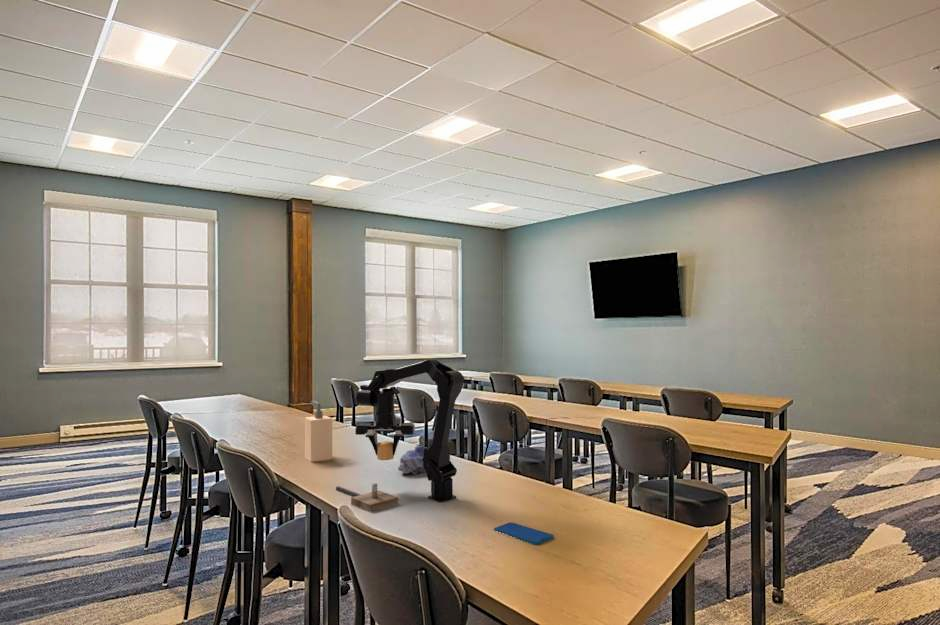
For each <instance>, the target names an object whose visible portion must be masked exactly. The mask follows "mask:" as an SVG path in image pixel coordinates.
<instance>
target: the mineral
mask: <svg viewBox="0 0 940 625" xmlns="http://www.w3.org/2000/svg"><path fill="white" fill-rule="evenodd" d="M425 448H426V446H424V445H417V446H415V447H414V449H413V450H412V449H409V450H406V452H405V453H404V454H402V456H401V457H400V458H399V459H400V460H399V462H400V464H399V465H398V466H397V470H398V471H399V472H402V473H403V474H410V473H411V474H413V473H416V474H418V473H421V472H422V473H424V472H425V473H426V471H425V469H424V468H423V461H422V459H423V456H424V449H425Z"/></svg>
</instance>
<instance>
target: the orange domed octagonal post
mask: <svg viewBox="0 0 940 625" xmlns="http://www.w3.org/2000/svg"><path fill="white" fill-rule="evenodd" d="M376 456H377V457H376V459H377V460H380V461H390V460H393V459H394V457H395V455H394V456H393V441H387V440H385V441H379V442H378V445H377V455H376Z"/></svg>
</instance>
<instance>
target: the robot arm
mask: <svg viewBox="0 0 940 625" xmlns="http://www.w3.org/2000/svg"><path fill="white" fill-rule="evenodd" d="M424 374H427V375H428V376H429V377H430V379H431V380H432V381H433V382H434V383H435V384H436V391H437V395H438V398H439V401H438V406H437V413H436V417H435V418H436V419H435V424H434V430H433V436H432V442H431V445H430V446H427V447H425V449H424V456H423V459H422V461H423V468H424V469H425V473H426V477H427V479H428V481H430V483H431V484H430V488H431V489H430V491H431V492H430V494H431V495H428V496H427V498H428V499H430V500H433V501H437V502H439V503H443V502H446V501H450V500H453V499H457V495H453V493H454V492H453V491H454V490H453V488H454V487H453V477H455V476H456V474H457V472H458V469H457V468H456V466H455V465H454V464H453V463H452V461H451V452H450V449H449V446H448V445H449V444H448V443H449V438H450V433H451V427H452V422H453V421H452V420H453V416H454V415H453V414H454V410H455V405H456V400H457V398H458V397H459V396H460V393H461V392H462V390H463V386H464V382H465V376H464V375H463V374H462V372H460V371H458V370H455V369H453V368H452V367H450V366H448V365H446V364H444V363H441V361H439V360H437V359H435V358H431V359H425V360H424V361H419V362H416V363H414V364H413V363H412V364H409V365H405V366H401V367H399V368H398V367H396V368H383V369H377V370H376V371H375V372H374V375H373V378H372V379H371V381H370V383H369V384H362V385H360V386H359V389H358V390H357V393H356V396H355V402H356V403H357V405H359V406H364V407H365V406H367V407H376V411H375V415H374V422H375V423H376V425H371V423H370V422H368V423H367V422H366V423H363V422H362V423H361V422H360V423H358V424H357V425H356V427H355V429H354V430H355V435H358V436H359V435H360V436H361V435H363V436H365V438H368V440H369V441H370V444H372V445H371V446H372V447H373V448H372V449H373V451H374V452H375V455H376V456H377V445H378V443H379V442H378V433H379V432H383V433H384V432H385V433H386V432H387V433H389V432H393V433H395V434H394V435H393V441H392V442H393V456H394V457H395V454H396V451H397V448H398V444H399V442H400V439H401V438H403V437H404V436H405V435H408V436H409V435H410V436H411V435H412V436H413V435H414V433H415V432H416V427H415V424H414V423H413V422H406V423H405V422H403V423H402V424H401V425H397V423H396V422H397V416H396V414H395V395H399V394H401V391H399V389H397V387H396V386H395V385H397V384H398V383H401V382H402V381H403V380H405V379H409V378H412V377H416V376H422V375H424ZM389 387H390V388H389Z"/></svg>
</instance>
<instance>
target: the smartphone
mask: <svg viewBox="0 0 940 625" xmlns="http://www.w3.org/2000/svg"><path fill="white" fill-rule="evenodd" d="M494 530H495V532H496V531H498V532H497V533H499V532H501V533H500V534H502V533H504V534H503V535H505V534H507V535H509V536H508V537H510V536H512V537H511V538H513V537H515V538H514V539H516V538H517V539H516V540H518V539H520V540H519V541H521V540H522V542H524V541H525V543H527V542H528V544H530V543H531V545H534V546H539V545H542V544H544V543H546V541H547V542H549V541H551V540H553V539H554V534H553V533H552V534H551V533H549V532H545V531H542V530H539V529H535V528H532V527H529V526H525V525H522V524H518V523H515V522H507V523H504V524H501V525H499V526H497V527H496V526H495V527H494V528H493V531H494ZM507 535H506V536H507Z"/></svg>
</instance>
